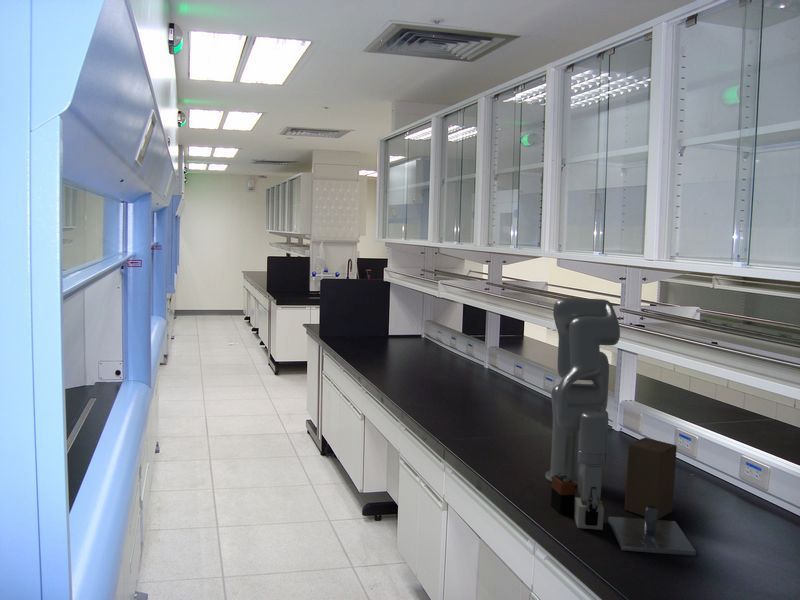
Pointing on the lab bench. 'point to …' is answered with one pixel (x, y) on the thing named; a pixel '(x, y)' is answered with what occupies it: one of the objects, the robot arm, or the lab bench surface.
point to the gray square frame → (581, 512)
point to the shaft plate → (645, 542)
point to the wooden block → (650, 476)
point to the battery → (562, 493)
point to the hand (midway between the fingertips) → (588, 517)
